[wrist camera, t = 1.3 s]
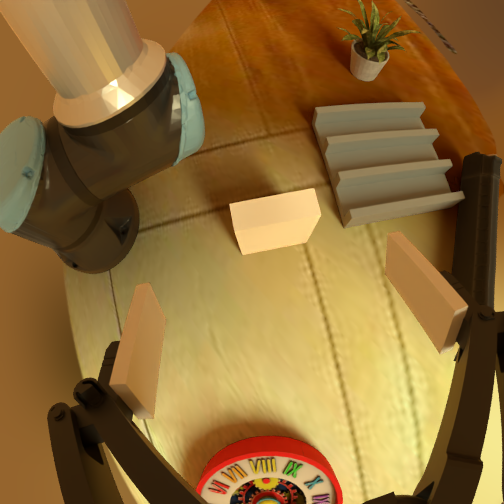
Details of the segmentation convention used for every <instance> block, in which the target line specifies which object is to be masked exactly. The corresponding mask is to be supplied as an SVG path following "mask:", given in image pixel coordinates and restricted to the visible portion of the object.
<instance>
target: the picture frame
mask: <svg viewBox="0 0 504 504" xmlns="http://www.w3.org/2000/svg"><path fill="white" fill-rule="evenodd" d="M229 205H230V211H231V216H232V222H233V227H234V232H235V235H236V238H237V241H238V244H239V247H240V250H241V253H242V255H245V254H250V253H255V252H260V251H265V250H270V249H276V248H281V247H286V246H291V245H296V244H301V243H306V242H307V240H308V238H309V237H310V235H311V233H312V231H313V229H314V227H315V226H316V224H317V222H318V220H319V218H320V216H321V212H320V208H319V205H318V201H317V197H316V194H315V190H314V188H313V189H307V190H301V191H295V192H290V193H284V194H279V195H273V196H268V197H262V198H257V199H252V200H247V201H242V202H237V203H232V204H229Z"/></svg>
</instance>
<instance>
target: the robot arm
mask: <svg viewBox="0 0 504 504" xmlns="http://www.w3.org/2000/svg"><path fill="white" fill-rule="evenodd" d="M0 12H1V14H2V15H3V17H4V18H5V20H6V21H7V23H8V24H9V26H10V27H11V29H12V30H13V31H14V33H15V34H16V36H17V37H18V39H19V40H20V42H21V43H22V44H23V46H24V47H25V49H26V50H27V52H28V53H29V54H30V56H31V57H32V59H33V60H34V61H35V63H36V64H37V66H38V67H39V68H40V70H41V71H42V72H43V74H44V75H45V76H46V78H47V79H48V81H49V82H50V83H51V85H52V86H53V87H54V89H55V90H56V91H57V93H56V96H55V100H54V104H53V112H54V116H53V117H52V118H50V119H49V120H47V121H46V122H44V123H42V122H41V121H40V120H39V119H37V118H34V117H31V116H28V117H20V118H18V119H16V120H15V121H13V122H12V123H10V124H9V125H8V126H7V127H6V128H5V129H4V130H3V131H2V132H1V134H0V227H1V228H2V229H3V230H4V231H5V232H8V233H12V234H15V235H17V236H20V237H23V238H25V239H28V240H30V241H33V242H36V243H38V244H41V245H44V246H47V247H50V248H52V249H53V250H54V251H55V252H56V253H57V255H58V256H59V257H60V258H61V259H62V261H63V262H64V263H65V264H67V265H68V266H69V267H71V268H73V269H75V270H77V271H81V272H84V273H89V274H97V273H102V272H105V271H107V270H110V269H111V268H113V267H115V266H116V265H117V264H119V263H120V262H121V261H122V260H123V259H124V258H125V256H126V255H127V254H128V252H129V251H130V249H131V248H132V246H133V244H134V242H135V239H136V236H137V233H138V228H139V210H138V206H137V203H136V200H135V198H134V197H133V195H132V194H131V192H130V191H129V190H128V189H127V188H129V187H131V186H133V185H135V184H137V183H139V182H140V181H142V180H144V179H146V178H148V177H150V176H152V175H154V174H156V173H158V172H160V171H163V170H165V169H167V168H169V167H171V166H175V165H176V164H177V163H178V162H179V161H180V160H182V159H184V158H186V157H188V156H189V155H191V154H193V153H195V152H196V151H198V150H199V149H200V147H201V146H202V144H203V142H204V137H205V125H204V118H203V113H202V108H201V104H200V101H199V98H198V96H197V95H196V89H195V85H194V81H193V79H192V76H191V74H190V71H189V69H188V67H187V65H186V63H185V62H184V60H183V59H182V57H181V56H180V55H179V54H177V53H165V51H164V49H163V48H162V46H161V45H159V44H158V43H156V42H154V41H151V40H146V39H141V37H140V35H139V33H138V30H137V28H136V26H135V23H134V21H133V18H132V16H131V13H130V11H129V8H128V6H127V3H126V1H125V0H0ZM385 275H386V276H387V277H388V279H389V280H390V282H391V283H392V284H393V286H394V287H395V288H396V290H397V291H398V293H399V294H400V295H401V297H402V298H403V300H404V301H405V303H406V304H407V305H408V307H409V308H410V310H411V311H412V313H413V314H414V316H415V317H416V318H417V320H418V321H419V323H420V324H421V326H422V327H423V329H424V330H425V332H426V333H427V335H428V336H429V338H430V340H431V341H432V343H433V344H434V346H435V347H436V349H437V350H438V352H439V354H442V353H445V352H447V351H450V350H452V349H453V347H454V344H455V342H456V341H457V342H458V344H459V345H460V347H459V349H458V352H457V354H456V356H455V359H454V361H456V364H455V369H454V374H453V379H452V383H451V388H450V392H449V396H448V400H447V404H446V408H445V412H444V415H443V419H442V422H441V426H440V429H439V432H438V435H437V439H436V442H435V445H434V448H433V451H432V453H431V456H430V459H429V462H428V464H427V467H426V470H425V472H424V475H423V477H422V478H421V480H420V482H419V483H418V485H417V487H416V489H415V491H414V493H413V495H412V496H411V495H395V494H394V492H391V493H389V494H386V495H383V496H380V497H377V498H375V499H372V500H369V501H366V502H365V503H363V504H472V502H473V499H474V496H475V493H476V489H477V486H478V483H479V480H480V476H481V472H482V469H483V462H482V461H481V459H480V457H481V452H482V448H483V444H484V439H485V434H486V430H487V424H488V419H489V413H490V407H491V401H492V393H493V385H494V376H495V370H496V377H497V384H498V392H499V401H500V412H501V426H502V452H503V453H502V494H503V502H502V504H504V311H503V312H495V311H494V310H493V309H492V308H491V307H489V306H486V305H479V304H478V303H477V302H476V300H475V299H474V298H473V297H472V296H471V295H470V294H469V292H468V291H467V290H466V289H465V288H463V286H462V285H461V284H460V283H459V281H458V280H457V279H456V278H455V277H454V276H453V275H451V274H450V273H448V272H446V271H442V272H438V271H437V270H436V268H435V267H434V266H433V265H432V264H431V263H430V262H429V261H428V260H427V259H426V258H425V257H424V256H423V255H422V254H421V253H420V252H419V250H418V249H417V248H416V247H415V246H414V245H413V244H412V243H411V242H410V241H409V240H408V239H407V238H406V237H405V236H404V235H403V234H402V233H401V232H400V231H397V232H392V233H388V236H387V253H386V267H385ZM165 325H166V318H165V316H164V314H163V312H162V310H161V307H160V305H159V303H158V301H157V298H156V296H155V294H154V292H153V289H152V287H151V285H150V282H149V283H144V284H139V285H137V286H136V289H135V292H134V295H133V299H132V302H131V305H130V308H129V312H128V315H127V319H126V322H125V325H124V329H123V333H122V336H121V340H120V341H114V342H111V344H110V345H109V347H108V348H107V349H106V352H105V356H104V360H103V363H102V367H101V370H100V373H99V377H98V381H97V380H96V379H94V378H85V379H83V380H82V381H80V382H79V383H78V384H77V385H76V387H75V389H74V392H73V395H74V399H75V400H76V401H77V402H78V403H79V404H80V405H77V406H74V407H71V408H70V407H69V406H68V405H67V404H65V403H57V404H55V405H53V406H52V407H51V409H50V410H49V412H48V417H47V419H48V426H49V433H50V440H51V445H52V451H53V456H54V461H55V466H56V471H57V475H58V479H59V484H60V488H61V492H62V496H63V499H64V502H65V504H124V503H123V501H122V498H121V496H120V493H119V491H118V489H117V486H116V483H115V481H114V478H113V475H112V473H111V470H110V467H109V464H108V461H107V458H106V456H105V453H104V449H103V446H102V443H103V442H105V444H106V445H107V447H108V448H109V450H110V451H111V453H112V454H113V456H114V457H115V458H116V460H117V461H118V463H119V464H120V466H121V467H122V468H123V470H124V471H125V472H126V474H127V475H128V477H129V478H130V479H131V481H132V482H133V483H134V484H135V486H136V487H137V488H138V490H139V491H140V492H141V493H142V495H143V496H144V497H145V498H146V499H147V501H148V502H149V503H150V504H209V503H208V502H207V501H206V500H205V499H203V498H202V497H201V496H200V495H199V494H198V493H197V492H196V491H195V490H194V489H193V488H192V487H191V486H190V485H189V484H188V483H187V482H186V481H185V480H184V479H183V478H182V477H181V476H180V475H179V474H178V473H177V472H176V471H175V470H174V468H173V467H172V466H171V465H170V464H169V463H168V462H167V461H166V460H165V459H164V458H163V456H162V455H161V454H160V453H159V452H158V451H157V450H156V448H155V447H154V446H153V445H152V444H151V443H150V441H149V440H148V439H147V438H146V437H145V435H144V434H143V433H142V432H141V431H140V429H139V428H138V427H137V426H136V424H135V423H134V422H133V421H132V417H133V414H134V415H135V416H136V417H137V418H138V419H154V412H155V402H156V393H157V384H158V376H159V368H160V360H161V352H162V345H163V338H164V331H165Z"/></svg>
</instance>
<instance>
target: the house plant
mask: <svg viewBox="0 0 504 504" xmlns="http://www.w3.org/2000/svg"><path fill="white" fill-rule="evenodd" d="M358 2H359V4H360V7H361V10H362V14H363V17H364V20H365V24H366V27H365V25H364V23H363V21H362V20H360V19H358V18H357V17H356V16H355V15H354V14H353V13H351V12H349V11H347V10H344V9H340V10H341V11H343V10H344V11H345V12H346V11H347V13H349V14H350V13H351V14H353V15H354V16H355V17H356V18H357V19H355V20H353V21H352V22H353V23H354V24H355V25H356V26H357V27H358V29H359V30H360V33H361V36H362V38H360V37H358V36H356V35H352V34H350V33H349V32H348V31H347V30H345V29H342V28H338V29H341V30H344V31H346V32H347V33H349V35H346V36H345V37H344V38H343V39H342V40H353V39H355V40H354V41H353V42H352V45H351V63H350V71H351V73H352V74H353V75H354V76H355V77H356V78H358V79H360V80H363V81H372V80H374V79H375V77H376V76H377V75H378V73H379V72H380V70H381V69H382V68H383V66H384V65H385V63H386V62H387V61H388V59H389V53H388V51H387V50H391V49H401V50H404V48H403V47H401V46H400V45H398V44H397V43H395V42H393V41H390V39H392V38H393V39H395V40H397V41H398V39H397V38H395V37H398V36H403V35H406V34H409V33H420V32H417V31H414V30H405V31H400V32H396V33H393V34H392V35H390V36H389V37H387V38H384V37H385V36H386V35H387V34H388V32H389V31H390V30H391V29H393V28H394V27H395V26H396V24H397V23H398V22H399V20H400V18H401V16H402V15H401V16H400V17H399V18H398V19H397V20H395V21H394V22H393V23H392V24H391V25H390V26H389V25H384V26H383V27H382V29H381V30H380V32H379V34H378V36H377V38H376V35H377V33H378V31H379V28H380V27H381V25H382V24H380V25H379V13H378V10H377V7H376V6H375V4H374V3H373V1H372V13H371V25H370V28H369V23H368V20H367V16H366V12H365V8H364V5H363V3H362V1H361V0H358ZM391 12H392V11H391ZM389 13H390V12H389ZM387 14H388V13H387ZM387 14H386V15H387ZM386 15H385V16H386ZM385 16H384V17H385ZM382 20H383V19H382ZM380 23H381V22H380ZM384 24H388V23H384ZM421 34H422V33H421ZM375 38H376V40H375ZM342 40H341V41H342ZM391 43H392V44H396V45H398V46H392V47H387V45H388V44H391ZM404 51H405V50H404Z"/></svg>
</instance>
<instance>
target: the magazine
mask: <svg viewBox="0 0 504 504" xmlns="http://www.w3.org/2000/svg"><path fill="white" fill-rule="evenodd" d="M501 164H502V159H501V158H499V157H497V154H490V155H485V154H480V152H475V153H472V154H470V155H467V156H465V157H464V160H463V169H462V177H461V189H460V191H463V194H464V197H465V199H463V200H462V201H460V202H459V208H458V217H457V226H456V236H455V247H454V258H453V269H452V275H453V276H454V277H455V278H456V279H457V280H458V281H459V283H460V284H461V285H462V286H463V288H465V289H466V290H467V291H468V292H469V294H470V295H471V296H472V297H473V298H474V299H475V300H476V302H477V303H478V304H479V305H486V306H489V307H491V308H492V309H493V310H494V285H495V270H496V241H497V218H498V217H497V216H498V197H499V179H500V165H501ZM456 342H457V341H456Z"/></svg>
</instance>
